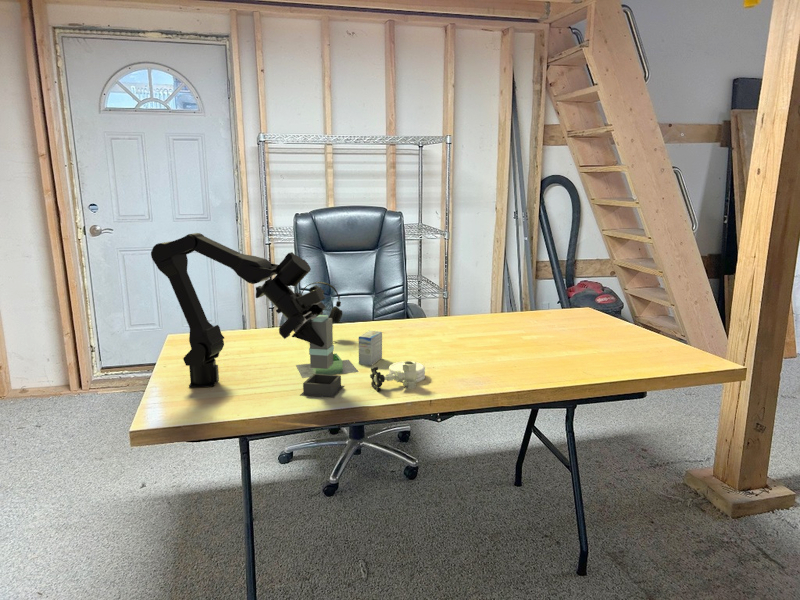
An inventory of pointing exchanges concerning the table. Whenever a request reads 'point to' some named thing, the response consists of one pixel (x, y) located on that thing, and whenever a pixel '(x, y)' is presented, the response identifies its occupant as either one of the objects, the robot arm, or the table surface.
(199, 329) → the robot arm
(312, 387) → the box
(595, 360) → the table surface
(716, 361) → the table surface
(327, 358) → the plug
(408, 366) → the valve
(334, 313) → the headphones
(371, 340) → the medicine box
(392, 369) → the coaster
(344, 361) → the port
